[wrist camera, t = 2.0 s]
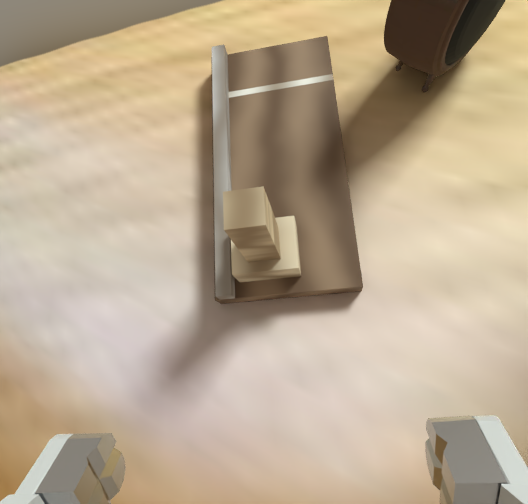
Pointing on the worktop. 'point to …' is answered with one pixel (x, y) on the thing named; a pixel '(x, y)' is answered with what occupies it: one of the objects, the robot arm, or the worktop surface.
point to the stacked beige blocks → (259, 237)
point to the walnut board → (284, 164)
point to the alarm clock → (436, 32)
